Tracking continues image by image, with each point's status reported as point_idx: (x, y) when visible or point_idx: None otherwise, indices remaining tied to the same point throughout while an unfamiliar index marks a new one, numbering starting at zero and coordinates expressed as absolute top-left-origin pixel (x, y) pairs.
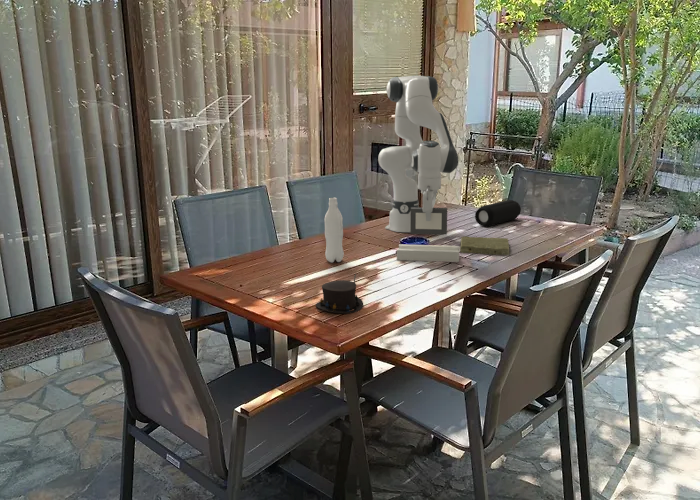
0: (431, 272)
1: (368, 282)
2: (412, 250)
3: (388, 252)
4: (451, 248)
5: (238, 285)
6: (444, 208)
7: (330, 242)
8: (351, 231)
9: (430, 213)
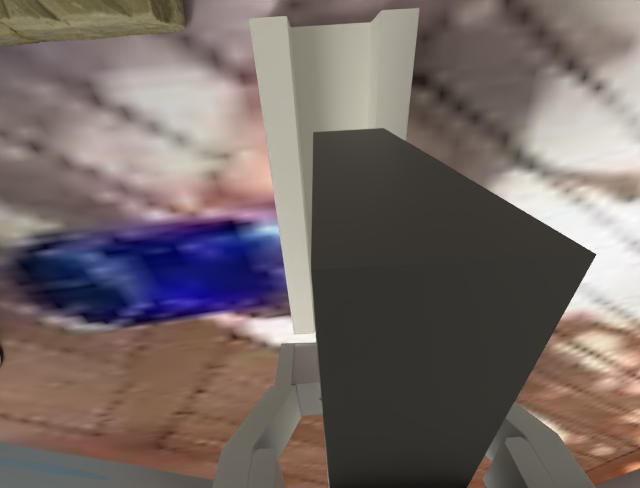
0: (563, 158)
1: (613, 328)
2: None
3: (287, 335)
4: (292, 83)
5: None
6: (413, 333)
7: None
8: (91, 440)
9: (536, 425)
